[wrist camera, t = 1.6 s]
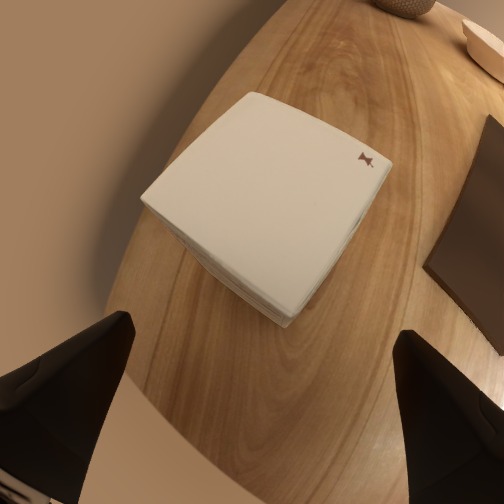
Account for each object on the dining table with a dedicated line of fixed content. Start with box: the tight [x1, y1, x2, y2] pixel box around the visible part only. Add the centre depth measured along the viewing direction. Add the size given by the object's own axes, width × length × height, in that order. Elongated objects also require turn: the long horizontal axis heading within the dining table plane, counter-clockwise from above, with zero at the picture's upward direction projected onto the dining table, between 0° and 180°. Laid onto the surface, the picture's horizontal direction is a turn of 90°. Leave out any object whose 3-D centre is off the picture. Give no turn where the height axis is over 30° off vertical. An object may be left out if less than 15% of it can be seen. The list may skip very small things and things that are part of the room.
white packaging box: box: [140, 91, 393, 328], centre depth 15 cm, size 7×7×13 cm
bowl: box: [462, 19, 504, 83], centre depth 27 cm, size 21×21×8 cm
